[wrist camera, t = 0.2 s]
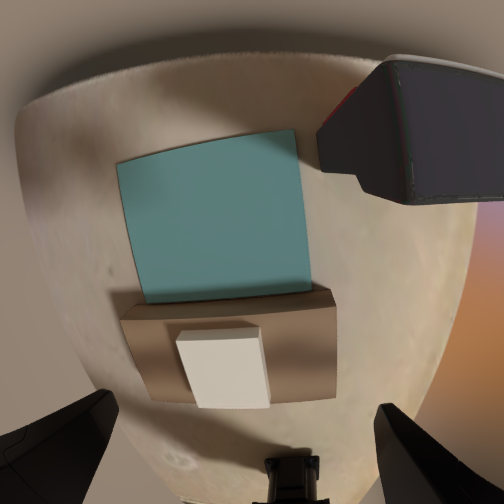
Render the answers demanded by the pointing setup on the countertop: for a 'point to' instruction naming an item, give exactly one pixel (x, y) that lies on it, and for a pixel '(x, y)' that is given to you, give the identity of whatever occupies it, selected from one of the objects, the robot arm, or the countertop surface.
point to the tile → (226, 367)
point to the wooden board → (242, 316)
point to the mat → (218, 219)
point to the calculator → (420, 132)
